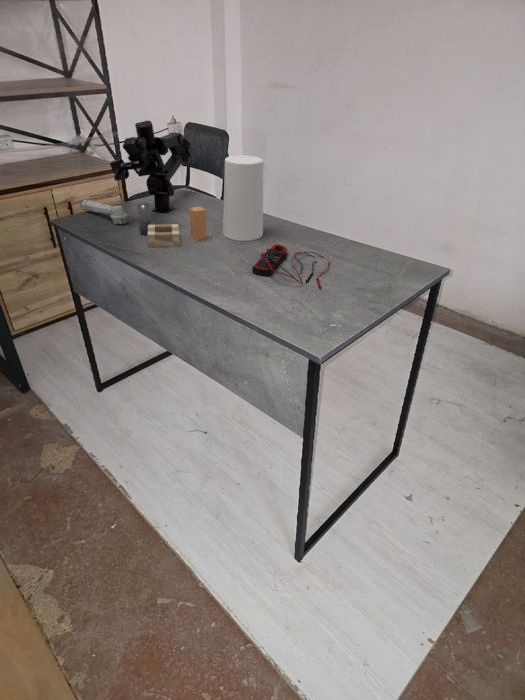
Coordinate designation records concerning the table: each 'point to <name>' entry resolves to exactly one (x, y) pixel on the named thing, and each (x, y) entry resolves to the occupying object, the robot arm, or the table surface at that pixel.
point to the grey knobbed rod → (105, 210)
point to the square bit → (198, 223)
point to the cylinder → (243, 198)
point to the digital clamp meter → (273, 260)
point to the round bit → (144, 217)
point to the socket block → (163, 235)
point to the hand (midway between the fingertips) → (126, 177)
